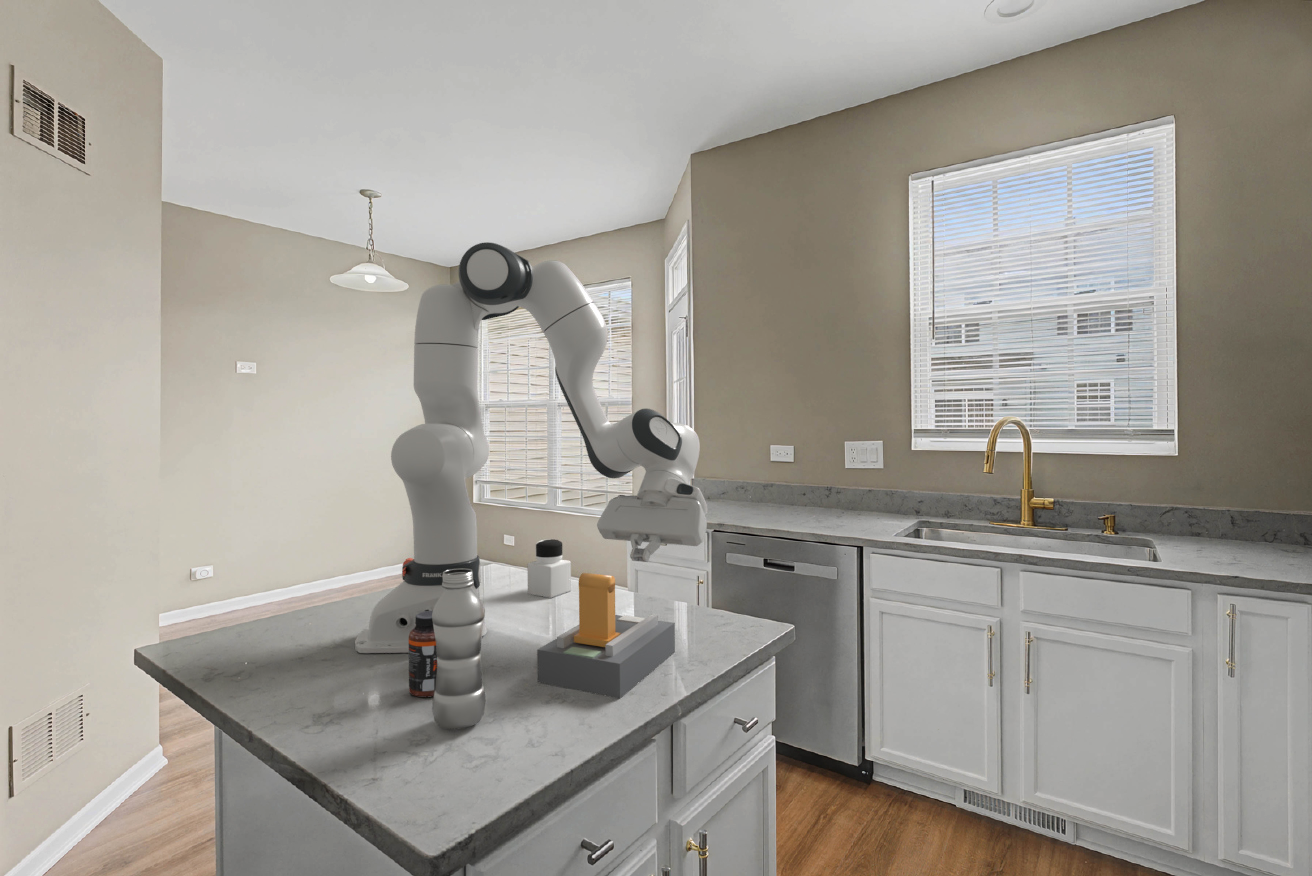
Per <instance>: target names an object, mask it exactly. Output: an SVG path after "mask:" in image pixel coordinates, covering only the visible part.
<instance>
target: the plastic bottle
mask: <svg viewBox="0 0 1312 876" xmlns="http://www.w3.org/2000/svg"><path fill="white" fill-rule="evenodd" d="M473 585H474V581H473V572H472V570H471V569H451V570H447V571H444V572H443V582H442V587H443V588H445V590H444V592H443V594H442V595H441V597H440V598H439V600H438V601H437V603H436V605H435V607H434V609H433V613H432V621H433V627H434V633H435V639H436V651H437V676H436V688H435V689H436V690H435V692H434V696H433V698H432V706H431V710H432V716H433V719H434V721H435V723H436V724H437V725H438V727H440V728H442V729H445V730H462V729H467V728H470V727H472V726H474V725H476V724H478V723H479V722H480V720H481V719H482V717H483V716H484V714H485V710H486V704H487V698H486V691H485V688H484V684H483V673H482V662H481V658H482V656H481V655H482V654H481V650H482V637H483V636H482V631H483V624H484V620H485V616H486V615H485V613H486V609H485V606H484V603H483V601H482V600H481V597H480V598H479V597H478V595H477V594H476V593H475V592H474V591H473V590H472V587H471V586H473Z"/></svg>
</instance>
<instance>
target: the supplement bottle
mask: <svg viewBox="0 0 1312 876" xmlns="http://www.w3.org/2000/svg"><path fill="white" fill-rule="evenodd" d="M432 613H433V611H425V612H421V613H418V614H417V615H416V617H415V618H416V620H415V621H416V622H415V624H416V626H415V628H414V629H413V630H411V632H410V633H409V652H408V691H409V693H410V694H411V695H412V696H414V697H419V698H431V697H434V692H435V690H436V689H435V688H436V676H437V651H436V639H435V633H434V627H433V621H432Z"/></svg>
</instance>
